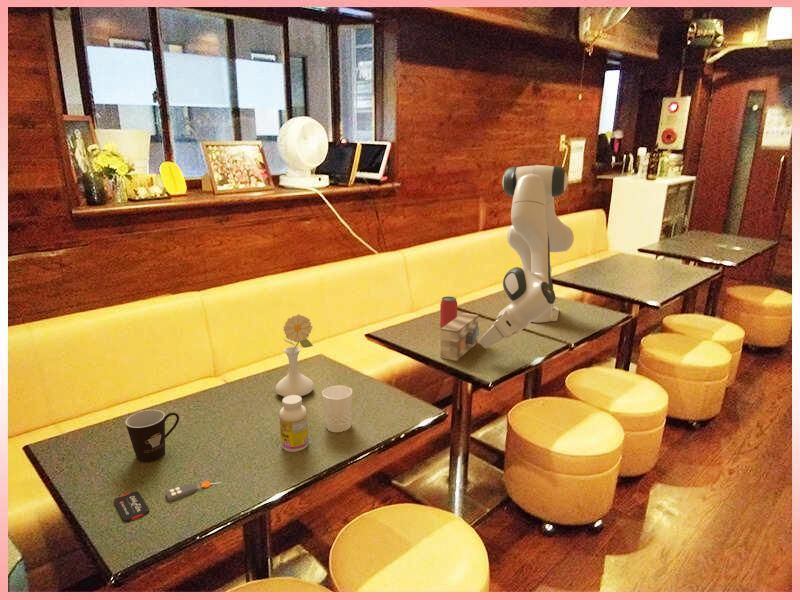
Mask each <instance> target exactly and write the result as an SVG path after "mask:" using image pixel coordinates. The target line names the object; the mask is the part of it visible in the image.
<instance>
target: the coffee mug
mask: <svg viewBox="0 0 800 600" xmlns="http://www.w3.org/2000/svg"><path fill="white" fill-rule="evenodd" d="M171 416H175V417H176V421H175V422H174V424H173V425H172V427H171V428H170V429H169V430H168V432H167V433H166V420H168V418H169V417H171ZM179 421H180V416H179V414H178V413H176V412H169V413H167V414H166V413H165V412H164V411H162V410H160V409H145V410H141V411H137V412H135V413H133V414H131V415H130V416H128V417H127V418H125V422H124V423H125V427H126V430H127V432H128V436H129V438H130V443H131V445H132V449H133V451H134V453H135V454H134V455H135V457H136V460H137V462H139V463H141V464H142V463H143V464H145V463H153V462H156V461H158V460H160V459H162V458H163V457H164V456H165V455H166V438H168V437H169V436H170V435H171V433H173V431H174V430H175V429H176V427H177V425H178V423H179Z"/></svg>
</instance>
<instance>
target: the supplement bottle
mask: <svg viewBox="0 0 800 600" xmlns="http://www.w3.org/2000/svg"><path fill="white" fill-rule="evenodd" d="M281 403H282V406H283V407H281V409H280V410H279V413H278V415H279V416H278V417H279V427H280V428H279V429H280V443H281V448H282V449H283V450H284V451H285V452H290V453H292V452H293V453H296V452H300V451H302V450H304V449H306V448H307V447H308V445H309V430H308V411H307V408H306V407H305V406H304V405H303V398H302V396H298V395H289V396H286V397H284V396H283V398H282V401H281Z"/></svg>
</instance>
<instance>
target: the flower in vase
mask: <svg viewBox="0 0 800 600" xmlns="http://www.w3.org/2000/svg"><path fill="white" fill-rule="evenodd" d="M312 330H313V325H312V322H311V319H310V318H309V317H307V316H306V315H301V314H300V313H299V314H296V315H292V316H291V317H288V318H287V321H285V323H284V326H283V331H284V335H285V338H286V339H285V338H284V337H283V338H282V339H283V341H284V342H286V343H287V344H290V345H292V346H287V347H285V348H283V352H284V353H285V354H286V356H287V358H288V362H289V363H288V365H289V371H288V373H287V375H286V376H284V377H283V378H281V379H280V380H278V382H277V383H276V386H275V389H274V390H275V392H276V393H277V394H278V395H280V396H281V397H283V398H284V397H286V396H289V395H298V396H300V397H303V396H306V395H308V394H310V393H311V392H312V391H313V390H314V389H315V383H314V382H313V381H312V380H311V379H310V378H309V377H307V376H306V375H304V374H302V373H300V371H299V368H298V358H299V354H300V352H301V350H302V348H305V349H306V348H311V347H313V346H314V345H313V344H312V342H311V341H310V340H309V339H308V338H309V336H310V334H311V332H312ZM293 342H294V343H293ZM295 343H296V344H295ZM299 344H300V346H301V347H302V348H301V347H299V346H298V345H299Z"/></svg>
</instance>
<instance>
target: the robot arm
mask: <svg viewBox="0 0 800 600" xmlns="http://www.w3.org/2000/svg"><path fill="white" fill-rule="evenodd" d="M568 183H569V177H568V174H567V171H566V169H565V168H564V167H563V166H560V165H554V166H553V165H543V164H535V165H524V166H523V165H522V166H511V167H508V168H507V169H506V170H505V171H504V174H503V176H502V183H501V185H502V188H503V192H504V193H505V195H506V196H509V197H512V203H511V210H510V221H511V225H510V227H508V230H507V232H506V240H507V243H508V245H509V247H511V248H512V249H513V250H514V251H515V252H516V253H517V255H518V256H519V259H520V261H521V264H522V267H519V266H515V267H513V268H511V269H509V270H508V271H507V272H506V273H505V275H504V277H503V281H502V287H503V290H504V292H505V293H506V295H507V297H508V298H509V299H510V300H511V303H508V305H506V306H505V307H504V308H503V309H502V310H501V311H499V313H498V315H497V317H496V319H495V320H494V321H493V325H492V326H491V327H490V328H489V329H487V330H486V332H485V333H483V335H481V336H480V337H479V338H478V342H479V344H480V345H481V346H482V347H483V349H488V348H490V347H492V346H494V345H495V344H497V343H499V342H500V341H502V340H503V339H508V338H510V337H511V336H513V335H517V334H518V333H520V332H521V331H522V330H524V329H525V328H527V327H528V326H529V325H530V324H531V323H537V324H538V323H549V322H557V321H558V318H559V313H560V310H559V308H558V307H556V306H555V302H556V293H555V290H554V283H553V282H552V270H553V269H552V266H551V257H550V256H551V255H550V254H551V253H562V252H567V251H569V249H571V247H572V246H573V243H574V232H573V230H572V229H571V227H570V226H568V225H566V224H565V223H564V222H562V221H561V219H560V218H559V216H557V214H556V209H555V197H560V196H562V195H563V194H565V191H566V189H567V187H568Z"/></svg>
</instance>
